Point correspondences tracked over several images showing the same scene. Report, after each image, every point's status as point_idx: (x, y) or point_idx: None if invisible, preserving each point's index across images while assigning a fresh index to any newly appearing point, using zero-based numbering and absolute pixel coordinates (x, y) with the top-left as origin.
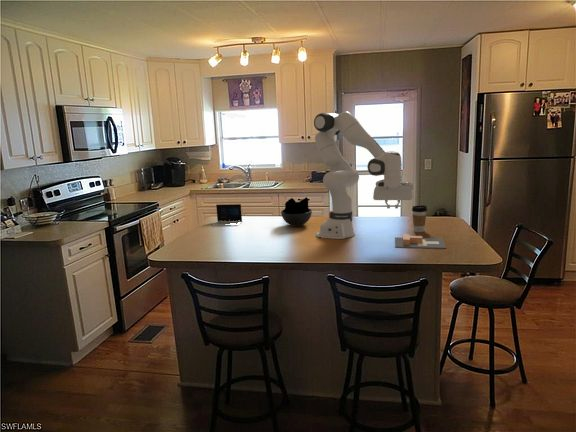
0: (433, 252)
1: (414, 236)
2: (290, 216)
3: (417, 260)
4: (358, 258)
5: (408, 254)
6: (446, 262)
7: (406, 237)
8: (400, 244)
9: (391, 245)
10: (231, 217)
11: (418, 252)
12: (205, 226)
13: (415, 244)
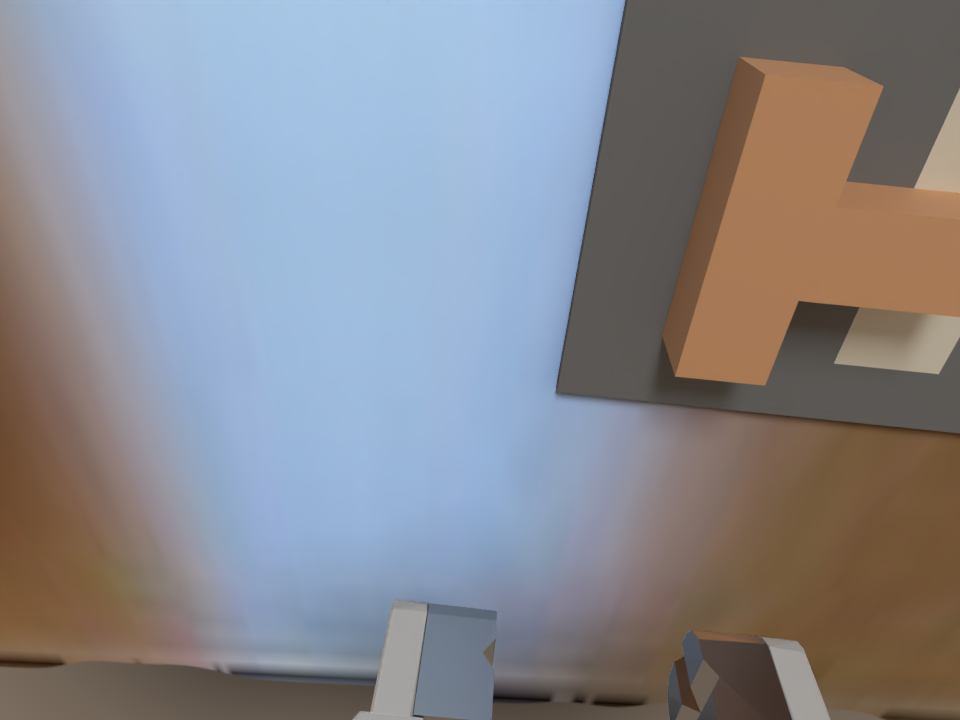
0: (890, 526)
1: (900, 244)
2: None
3: (667, 657)
4: (232, 607)
5: (638, 557)
6: (858, 693)
7: (753, 292)
8: (635, 319)
9: (524, 309)
10: None
11: (748, 520)
12: None
13: (822, 325)
